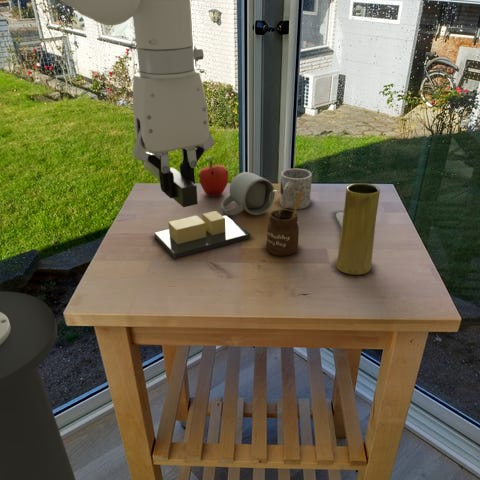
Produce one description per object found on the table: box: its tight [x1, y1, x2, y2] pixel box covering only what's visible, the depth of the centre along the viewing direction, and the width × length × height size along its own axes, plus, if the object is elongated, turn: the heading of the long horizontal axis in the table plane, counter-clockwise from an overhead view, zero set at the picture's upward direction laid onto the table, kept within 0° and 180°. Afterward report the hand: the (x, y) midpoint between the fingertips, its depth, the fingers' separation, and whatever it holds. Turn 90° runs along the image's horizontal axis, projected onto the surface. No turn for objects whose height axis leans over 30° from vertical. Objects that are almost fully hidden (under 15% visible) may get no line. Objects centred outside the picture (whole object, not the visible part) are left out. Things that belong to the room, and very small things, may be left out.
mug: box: [279, 167, 313, 210], centre depth 108 cm, size 10×7×7 cm, turn 153°
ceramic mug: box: [220, 171, 276, 216], centre depth 106 cm, size 11×8×8 cm
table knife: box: [143, 161, 199, 208], centre depth 80 cm, size 2×19×3 cm, turn 29°
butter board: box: [154, 214, 251, 259], centre depth 97 cm, size 16×10×1 cm, turn 119°
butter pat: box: [202, 210, 226, 235], centre depth 97 cm, size 3×4×3 cm
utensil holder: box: [265, 189, 303, 257], centre depth 90 cm, size 6×6×12 cm
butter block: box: [168, 215, 206, 244], centre depth 95 cm, size 6×4×3 cm, turn 119°
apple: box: [198, 154, 229, 197], centre depth 112 cm, size 8×7×10 cm
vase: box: [335, 182, 381, 276], centre depth 83 cm, size 6×6×14 cm
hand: (178, 192), depth 77 cm, fingers closed on table knife, 2 cm apart
